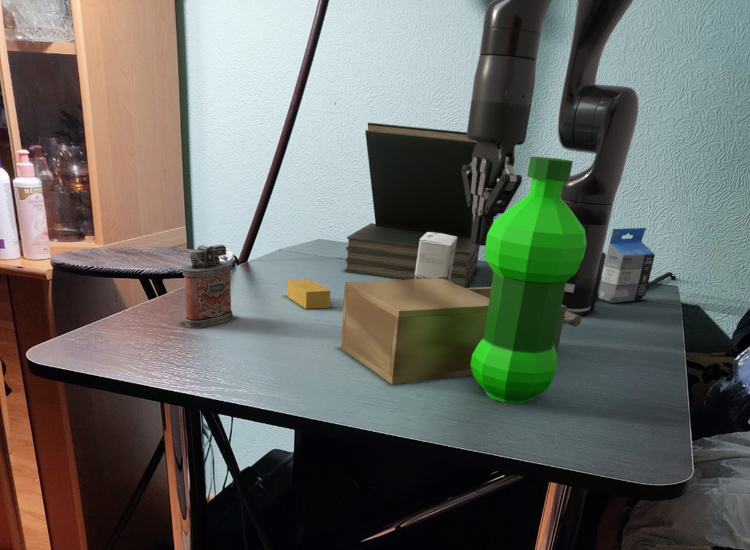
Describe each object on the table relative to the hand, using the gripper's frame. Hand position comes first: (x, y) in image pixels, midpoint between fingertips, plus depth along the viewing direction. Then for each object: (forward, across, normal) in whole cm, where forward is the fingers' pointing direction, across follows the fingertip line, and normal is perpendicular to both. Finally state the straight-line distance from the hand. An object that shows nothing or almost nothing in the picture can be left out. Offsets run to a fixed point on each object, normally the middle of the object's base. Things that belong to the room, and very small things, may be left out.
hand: (479, 244), depth 98 cm
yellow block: (+13, +18, +19) cm, 29 cm away
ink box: (+13, +9, +2) cm, 16 cm away
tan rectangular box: (+13, -10, +12) cm, 21 cm away
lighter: (+13, +9, +36) cm, 39 cm away
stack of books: (+13, +42, -9) cm, 45 cm away
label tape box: (+12, +19, -41) cm, 47 cm away
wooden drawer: (+12, -8, -2) cm, 14 cm away
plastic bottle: (+13, -23, +6) cm, 27 cm away
